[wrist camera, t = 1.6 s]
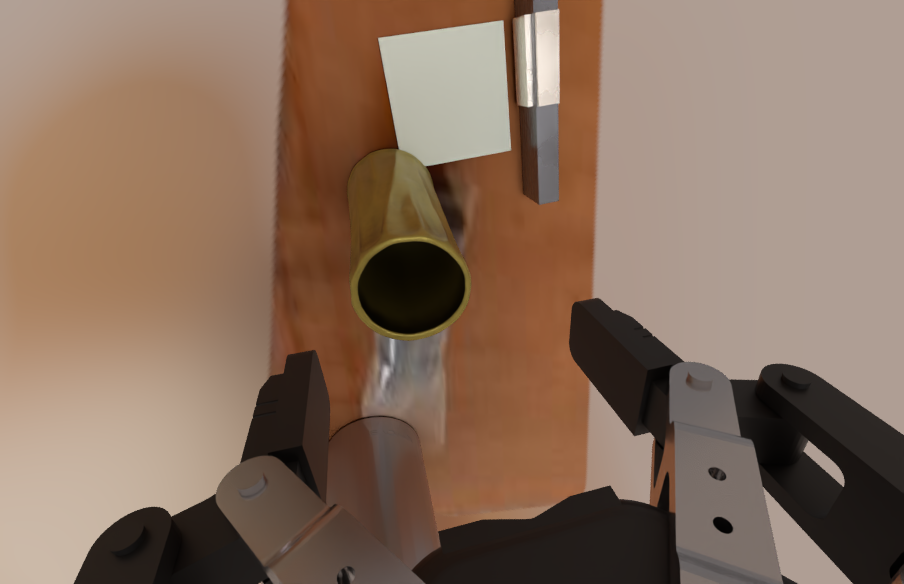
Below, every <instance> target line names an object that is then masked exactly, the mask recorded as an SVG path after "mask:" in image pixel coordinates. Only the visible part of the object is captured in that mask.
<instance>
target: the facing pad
mask: <svg viewBox="0 0 904 584" xmlns="http://www.w3.org/2000/svg"><path fill="white" fill-rule="evenodd" d="M378 41H379V47H380V52H381V57H382V63H383V68H384V73H385V79H386V84H387V89H388V95H389V100H390V105H391V111H392V116H393V121H394V127H395V132H396V137H397V143H398V148H399V150H402V151H405V152H408V153H410V154H412V155H413V156H415V157H416V158H417V159H418V160H420V161H421V162H422V164H423V165H424V166H430V165H435V164H441V163H446V162H451V161H457V160H462V159H468V158H473V157H478V156H484V155H489V154H494V153H500V152H505V151H511V141H510V124H509V108H508V91H507V74H506V58H505V41H504V24H503V20H502V21H495V22H488V23H481V24H474V25H467V26H460V27H453V28H446V29H439V30H432V31H424V32H417V33H410V34H403V35H396V36H389V37H382V38H378Z"/></svg>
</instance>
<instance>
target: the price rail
mask: <svg viewBox="0 0 904 584" xmlns="http://www.w3.org/2000/svg"><path fill="white" fill-rule="evenodd" d="M514 5H515V18H514V19H513V38H514V57H515V77H516V97H517V105H519V109H520V130H521V151H522V172H523V193H524V195H526V196H527V197H528V198H530V199H531V200H533V201H534V202H536V203H537V204H539V205H540V204H545V203H550V202H555V201H559V166H558V103H559V9H558V0H514Z"/></svg>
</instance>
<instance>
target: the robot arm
mask: <svg viewBox="0 0 904 584" xmlns="http://www.w3.org/2000/svg"><path fill="white" fill-rule="evenodd" d="M569 347H570V351H571V355H572V357H573V359H574V361H575V362H576V363H577V365H578V366H579V367H580V368H581V370H582V371H583V372H584V373H585V375H586V376H587V377H588V378H589V380H590V381H591V382H592V383H593V385H594V386H595V387H596V388H597V390H598V391H599V392H600V393H601V395H602V396H603V397H604V399H605V400H606V401H607V402H608V404H609V405H610V406H611V407H612V409H613V410H614V411H615V412H616V414H617V415H618V416H619V417H620V419H621V420H622V421H623V423H624V424H625V425H626V426H627V427H628V429H629V430H630V431H631V432H632V434H633V435H634V436H637V435H641V434H645V433H649V432H650V433H651V434H652V435H653V436H654V441H653V446H652V467H651V490H650V504H646V503H642V502H638V501H632V500H624V499H618V497H617V496H616V494H615V492H614V491H613V489H612V488H611V486H607V487H603V488H599V489H596V490H592V491H588V492H584V493H580V494H577V495H573V496H570V497H568V498H566V499H565V500H563V501H561V502H560V503H558V504H556V505H555V506H553V507H551V508H550V509H548V510H547V511H545V512H543V513H542V514H540V515H538V516H537V517H535V518H532V519H499V520H498V519H497V520H480V521H476V522H472V523H468V524H465V525H461V526H457V527H453V528H450V529H446V530H442V531H439V532H438V531H437V526H436V521H435V516H434V511H433V506H432V501H431V496H430V491H429V486H428V481H427V476H426V471H425V466H424V461H423V456H422V451H421V446H420V441H419V438H418V435H417V434H416V432H415V431H414V429H413V428H411V427H410V426H409V425H408V424H406V423H404V422H402V421H400V420H397V419H393V418H387V417H371V418H366V419H362V420H359V421H356V422H353V423H351V424H349V425H347V426H346V427H344V428H342V429H341V430H340V431H339V432H338V433H336V434H335V435H334V436H333V438H332V439H331V440H330V442H329V425H330V402H329V396H328V391H327V387H326V384H325V380H324V377H323V373H322V370H321V366H320V363H319V359H318V356H317V353H316V351H315V350H312V351H306V352H301V353H296V354H290V355H288V356H287V359H286V364H285V369H284V374H279V375H273V376H270V378H269V379H268V380H267V381H266V383H265V384H264V385H263V386H262V388H261V389H260V391H259V395H258V398H257V402H256V407H255V410H254V414H253V419H252V421H251V425H250V428H249V433H248V436H247V440H246V443H245V447H244V451H243V455H242V459H241V462H240V464H239V465H237V466H236V467H234V468H233V469H232V470H231V471H230V472H229V473H228V474H227V475H226V476H225V477H224V478H223V479H222V481H221V483H220V484H219V486H218V488H217V492H216V494H215V495H213V496H212V497H210V498H208V499H206V500H205V501H203V502H201V503H199V504H197V505H194V506H192V507H190V508H188V509H186V510H184V511H182V512H180V513H178V514H176V515H174V516H172V517H171V516H170V514H169V513H168V511H166V510H165V509H163V508H160V507H148V508H143V509H140V510H137V511H134V512H132V513H130V514H128V515H126V516H124V517H123V518H121V519H119V520H118V521H117V522H115V523H114V524H113V525H111V526H110V527H109V528H108V529H107V530H105V532H104V533H102V534H101V535H100V537H99V538H98V539H97V540H96V541H95V543H94V544H93V546H92V547H91V549H90V551H89V552H88V554H87V557H86V559H85V561H84V563H83V565H82V567H81V569H80V571H79V573H78V576H77V578H76V580H75V582H74V584H258V583H260V582H261V583H262V584H797V583H795V582H794V581H792V580H790V579H788V578H787V577H785V576H783V575H781V572H780V567H779V562H778V557H777V553H776V548H775V543H774V538H773V534H772V529H771V524H770V519H769V515H768V510H767V505H766V500H765V495H764V491H763V487H764V488H765V489H766V490H767V492H769V494H770V495H771V496H772V497H773V498H774V499H775V500H776V501H777V502H778V503H779V504H780V506H781V507H782V508H783V509H784V510H785V511H786V512H787V513H788V514H789V515H790V516H791V517H792V518H793V519H794V520H795V521H796V523H797V524H798V525H799V526H800V527H801V528H802V529H803V530H804V531H805V532H806V533H807V534H808V536H810V538H811V539H812V540H813V541H814V542H815V543H816V544H817V545H818V546H819V547H820V549H821V550H822V551H823V552H824V553H825V554H826V555H827V556H828V557H829V558H830V559H831V560H832V561H833V562H834V563H835V565H836V566H837V567H838V568H839V569H840V570H841V571H842V572H843V573H844V574H845V575H846V576H847V578H848V579H849V580H850V581H851V582H852V583H853V584H904V435H903V434H901V433H900V432H898V431H897V430H895V429H894V428H893V427H891V426H890V425H888V424H887V423H885V422H884V421H882V420H881V419H879V418H878V417H877V416H875V415H874V414H872V413H871V412H869V411H868V410H867V409H865V408H863V407H862V406H861V405H859V404H858V403H857V402H855V401H854V400H852V399H851V398H849V397H848V396H846V395H845V394H844V393H842V392H840V391H839V390H838V389H836V388H835V387H833V386H832V385H831V384H829V383H827V382H826V381H825V380H823V379H822V378H820V377H819V376H817V375H816V374H814V373H812V372H810V371H808V370H805V369H803V368H800V367H796V366H793V365H787V364H771V365H767V366H765V367H764V368H763V369H762V371H761V374H760V376H759V379H758V380H729V379H728V378H727V377H726V376H725V375H724V374H723V373H722V372H720V371H719V370H717V369H715V368H713V367H711V366H708V365H705V364H701V363H696V362H684V361H683V360H682V359H680V358H679V357H678V356H677V355H676V354H674V353H673V352H672V351H671V350H670V349H669V348H668V347H666V346H665V345H664V344H663V343H662V342H660V341H659V340H658V339H657V338H656V337H655V336H654V337H653V336H652V334H651V333H650V332H649V331H648V330H647V329H643V326H642V325H641V324H640V323H638V322H637V321H636V320H635V319H634V318H632V317H631V316H628V315H626V314H624V313H622V312H620V311H617V310H615V311H613V310H612V309H611V308H610V307H609V306H608V305H606V304H605V303H604V302H603V301H602V300H601V299H599V298H595V299H589V300H584V301H579V302H575V303H574V304H573V306H572V313H571V326H570V338H569ZM808 440H809V441H810V442H811V443H812V444H814V445H815V446H816V447H817V448H818V449H819V450H821V451H822V452H823V453H824V454H825V455H826V456H828V457H829V458H830V459H831V460H832V461H833V462H834V463H836V465H837V466H838V467H839V468H840V470H841V471H842V473H843V475H844V479H845V485H844V487H842V485H840V484H839V483H838V482H837V481H836V480H835V479H833V478H832V477H831V476H830V475H829V474H828V473H827V472H826V471H825V470H823V469H822V468H821V467H820V466H819V465H818V464H817V463H816V462H815V461H813V460H812V459H811V458H810V457H809V456H808V455H807V454H806V453H805V452H803V450H804V448H805V446H806V444H807V442H808ZM438 533H439V536H438ZM439 540H440V541H439Z"/></svg>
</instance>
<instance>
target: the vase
mask: <svg viewBox="0 0 904 584" xmlns="http://www.w3.org/2000/svg"><path fill="white" fill-rule="evenodd" d="M347 196H348V203H349V216H350V227H351V257H350V272H349V282H350V290H351V303H352V306H353V308H354V310H355V312H356V313H357V315H358V316H359V318H360V319H361V320H362V321H363V322H364V323H365V324H366V325H367V326H368V327H369V328H371V329H372V330H373V331H375V332H377V333H379V334H381V335H383V336H386V337H389V338H392V339H397V340H407V341H410V340H417V339H422V338H426V337H429V336H432V335H435V334H437V333H439V332H441V331H442V330H444V329H446V328H447V327H449V326H450V325H451V324H452V323H454V322H455V321H456V320H457V319H458V318H459V317H460V315H461V314H462V312H463V311H464V309H465V307H466V306H467V303H468V301H469V296H470V290H471V275H470V272H469V270H468V267H467V265H466V262H465V260H464V257H463V256H462V254H461V252H460V250H459V248H458V246H457V244H456V242H455V240H454V237H453V235H452V232H451V230H450V227H449V225H448V223H447V220H446V217H445V215H444V213H443V211H442V208H441V205H440V202H439V200H438V197H437V195H436V193H435V190H434V186H433V182H432V178H431V176H430V173H429V171H428V170H427V168H426V167H425V166H424V165H423V164H422V162H421V161H420V160H418V159H417V158H416V157H415V156H413V155H412V154H410V153H408V152H405V151H402V150H398V149H382V150H378V151H375V152H372V153H370V154H368V155H367V156H366V157H364V158H363V159H362V160H361V161H359V162H358V163H357V164H356V165H355V167H354V168H353V170H352V172H351V174H350V177H349V179H348V184H347Z"/></svg>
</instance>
